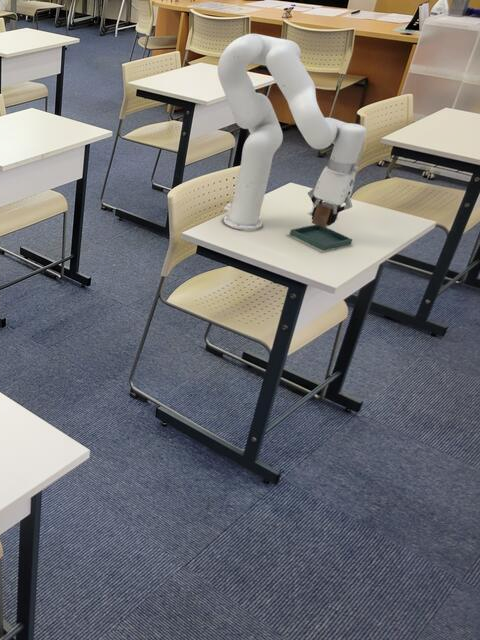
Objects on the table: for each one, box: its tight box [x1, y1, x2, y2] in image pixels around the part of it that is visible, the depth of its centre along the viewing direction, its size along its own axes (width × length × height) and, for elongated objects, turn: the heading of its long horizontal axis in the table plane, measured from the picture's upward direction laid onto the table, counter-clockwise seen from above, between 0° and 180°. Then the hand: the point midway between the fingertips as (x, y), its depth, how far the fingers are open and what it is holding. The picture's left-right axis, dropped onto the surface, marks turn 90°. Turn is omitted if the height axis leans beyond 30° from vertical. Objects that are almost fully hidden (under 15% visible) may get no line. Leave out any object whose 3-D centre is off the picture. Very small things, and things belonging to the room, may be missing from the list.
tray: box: [289, 224, 353, 252], centre depth 227 cm, size 14×13×2 cm
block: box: [311, 201, 334, 228], centre depth 223 cm, size 5×5×6 cm
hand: (322, 220), depth 224 cm, fingers closed on block, 4 cm apart
